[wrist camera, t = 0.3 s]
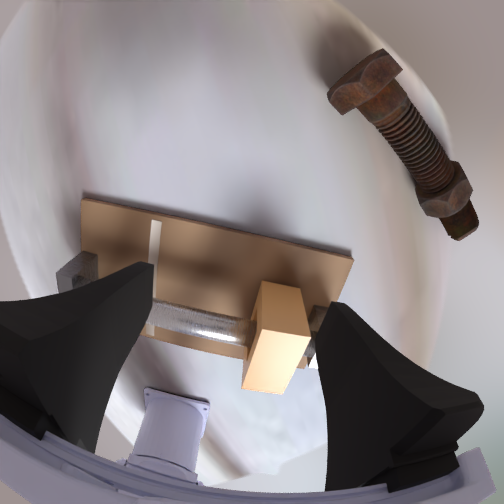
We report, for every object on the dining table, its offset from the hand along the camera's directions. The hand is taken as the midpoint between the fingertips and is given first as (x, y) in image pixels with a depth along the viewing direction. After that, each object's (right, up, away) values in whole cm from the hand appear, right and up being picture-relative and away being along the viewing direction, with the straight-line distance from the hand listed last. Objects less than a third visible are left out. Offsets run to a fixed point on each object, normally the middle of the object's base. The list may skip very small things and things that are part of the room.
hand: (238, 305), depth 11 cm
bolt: (+12, +10, +7) cm, 17 cm away
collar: (+2, -3, +11) cm, 12 cm away
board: (-4, -1, +12) cm, 12 cm away
